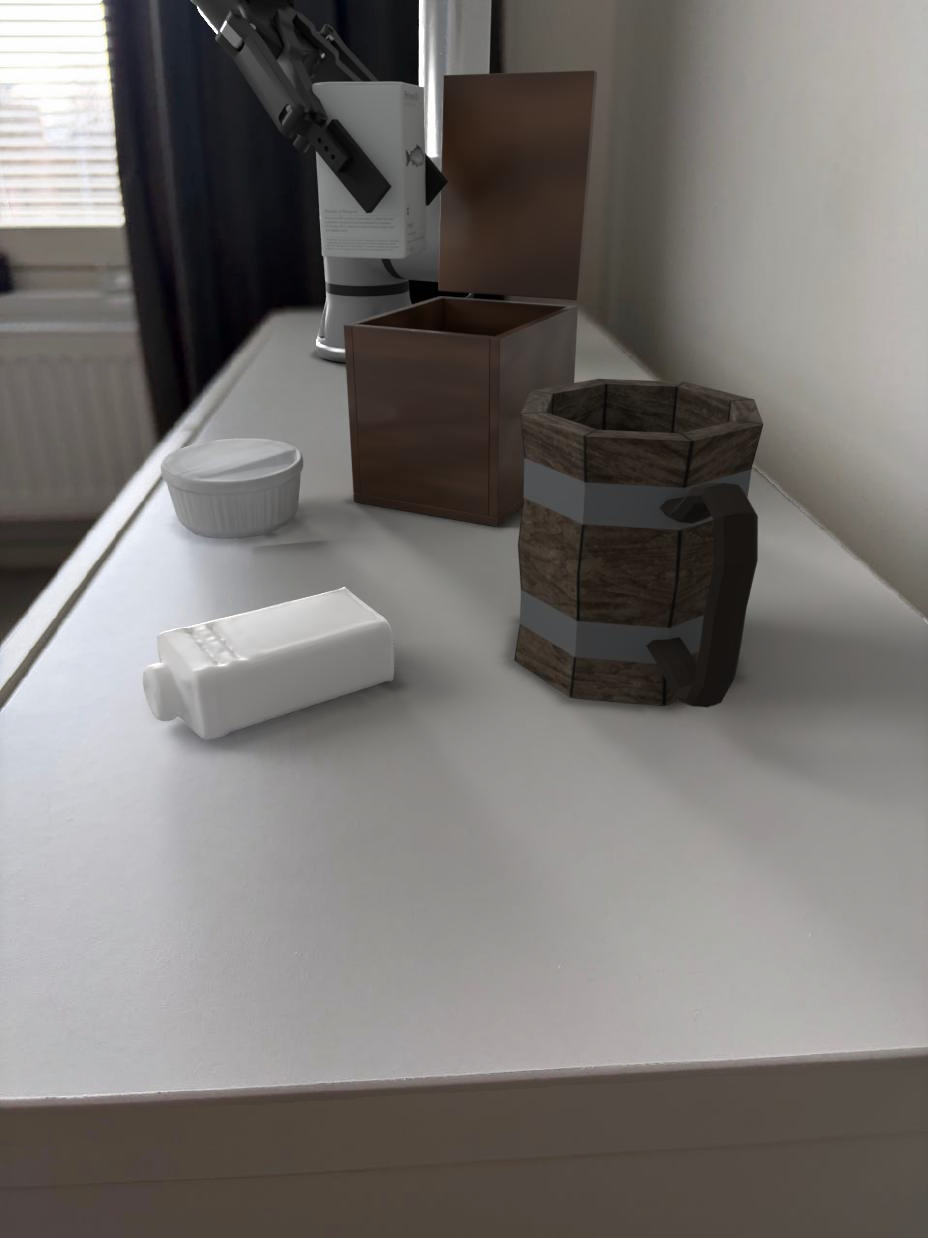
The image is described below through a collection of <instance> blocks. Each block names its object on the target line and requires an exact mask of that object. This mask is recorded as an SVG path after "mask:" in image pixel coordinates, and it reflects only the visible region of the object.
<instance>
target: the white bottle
mask: <svg viewBox="0 0 928 1238" xmlns="http://www.w3.org/2000/svg"><path fill="white" fill-rule="evenodd" d="M393 638H394V636H393V630H392V627H391V625H390V623H389V621H388V620H387V619H386V618H385V617H384V616H383V615H382V614H379V613H378V612H377V611H376V610H374V609H373V608H372V607H371V606H369V605H368V604H366V602H364V601H363V600H361V598H359V597H357V595H355V594H354V593H353V592H352V591H351V590H349V589H348V588H347V587H346V586H343V587H341V588H338V589H333V590H330V591H326V592H323V593H318V594H314V595H311V596H306V597H301V598H299V599H295V600H290V601H285V602H282V603H279V604H273V605H271V606H266V607H262V608H259V609H255V610H250V611H245V612H242V613H239V614H235V615H230V616H226V617H222V618H217V619H214V620H210V621H206V622H202V623H197V624H193V625H190V626H189V625H188V626H185V627H177V628H173V629H169V630H165V631H162V632H160V633H158V634H157V636H156V646H157V653H158V661H159V662H156V663H153V664H149V665H147V666H146V667H145V668H144V669H143V672H142V688H143V692H144V696H145V700H146V702H147V705H148V708H149V710H150V712H151V714H152V715H153V718H155V719H157V720H159V721H162V722H171V721H174V720H175V719H176V718H177V717H178V718H180V719H181V720H182V721H183V722H184V723H185V724H186V725H187V726H188V728H190V729H191V730H192V731H193V732H194V733H195V734H196V735H197V736H198V737H199V738H201V739H202V740H204V741H210V740H211V741H212V740H214V739H220V738H222V737H225V736H226V735H228V734H229V733H231V732H235V731H238V730H242V729H245V728H248V727H251V726H254V725H257V724H260V723H263V722H267V721H269V720H273V719H276V718H278V717H281V716H284V715H288V714H290V713H294V712H297V711H299V710H302V709H306V708H308V707H312V706H316V705H319V704H321V703H325V702H328V701H332V700H334V699H338V698H341V697H343V696H346V695H349V694H353V693H355V692H358V691H363V690H365V689H368V688H370V687H373V686H376V685H379V684H382V683H386V682H390V683H391V682H392V681H393V680H394V676H395V667H394V666H395V659H394V658H395V655H394V653H395V652H394V639H393Z"/></svg>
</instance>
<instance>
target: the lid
mask: <svg viewBox="0 0 928 1238" xmlns="http://www.w3.org/2000/svg"><path fill="white" fill-rule="evenodd" d="M597 82H598V71H596V70H594V69H593V70H565V71H564V70H563V71H532V72H531V71H530V72H529V71H528V72H500V73H497V72H496V73H489V74H462V75H444V76H443V116H442V159H441V173H442V174H443V175H444V177H445V178H446V179H447V180H448V182H447V184H446V185H445V186H444V187H443V188H442V190H441V201H440V244H439V282H438V288H437V289H438V292H449V293H450V292H452V293H464V294H469V293H474V294H478V295H479V294H481V295H491V296H493V295H494V296H508V297H521V298H522V297H524V298H537V299H549V300H550V299H551V300H564V301H565V300H566V301H580V300H581V288H582V278H583V265H584V263H583V262H584V250H585V238H586V225H587V213H588V212H587V211H588V201H589V186H590V175H591V162H592V161H591V159H592V146H593V135H594V123H595V122H594V121H595V120H594V119H595V108H596V95H597Z"/></svg>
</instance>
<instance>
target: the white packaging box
mask: <svg viewBox="0 0 928 1238" xmlns="http://www.w3.org/2000/svg"><path fill="white" fill-rule="evenodd" d="M312 89H313V93H314V94H315V95H316V96H317V97H318V98H319V99H320V101H321V104H322V106H323V108H324V110H325V112H326V114H327V116H328V120H327V121H326V124H327V125H329V123H330V122H331V120H332V119H338V120H339V122H340V123H341V124H342V125H343V127H344V128H345V129H346V130H347V132H348V133H349V134H350V135H351V137H352V138H353V139H354V140H355V142H356V143H357V144H358V145H359V147H360V148H361V149H362V150H363V151H364V153H365V154H366V155H367V156H368V158H369V159H370V160H371V161H372V163H373V164H374V165H375V166H376V168H377V169H378V170H379V171H380V173H381V174H382V175H383V176H384V178H385V179H386V180H387V181H388V183H389V184H390V185H391V186H392V187H391V188H390V189H389V191H388V192H387V193H386V195H385V196H384V197H383V199H382V200H381V201H380V202H379V204H378V205H377V206H376V208H375V209H374V210H373V212H372V213H366V212H365V211H364V210H363V209H362V207H361V206H360V205H359V204H358V202H357V201H356V200H355V199H354V197H353V196H352V195H351V194H350V192H349V191H348V190H347V189H346V187H345V186H344V185H343V184H342V182H341V181H340V180H339V179H338V178H337V176H336V175H335V174H334V173H333V171H332V170H331V169H330V168H329V166H328V165H327V164H326V163H325V161H324V160H323V159H322V158H321V156H320V155H319V154H318V153H317V152H316V151H315V155H316V157H315V158H316V174H317V175H316V176H317V190H318V191H317V192H318V205H319V206H318V207H319V208H318V210H319V225H320V239H321V240H320V243H321V245H320V246H321V256H322V257H324V256H326V257H350V258H379V259H405V258H406V257H407V256H409V255H411V254H413V253H415V252H418V251H423V250H424V249H426V188H425V130H424V87H422V86H419V85H417V84H412V83H407V82H403V81H379V82H321V83H315V84H313V85H312Z"/></svg>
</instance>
